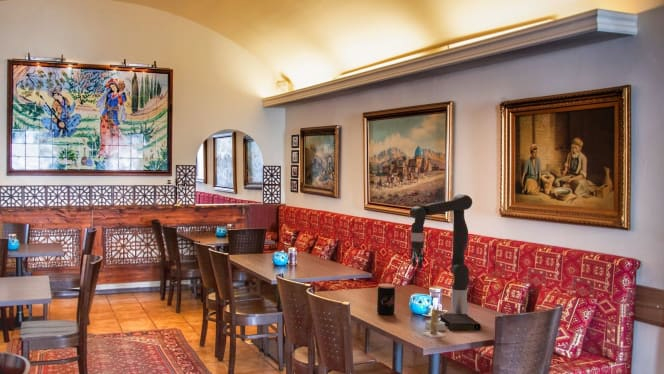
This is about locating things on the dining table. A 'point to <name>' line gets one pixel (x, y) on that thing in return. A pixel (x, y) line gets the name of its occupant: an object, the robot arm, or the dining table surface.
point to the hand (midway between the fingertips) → (417, 267)
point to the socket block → (440, 325)
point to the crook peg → (435, 320)
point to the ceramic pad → (434, 334)
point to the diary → (459, 322)
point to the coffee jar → (386, 299)
